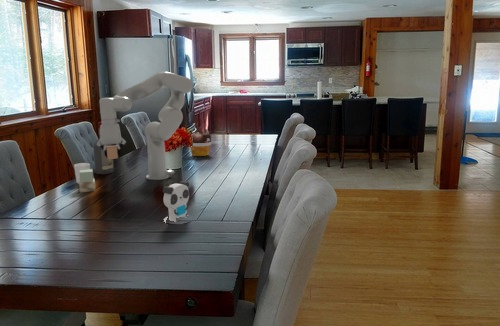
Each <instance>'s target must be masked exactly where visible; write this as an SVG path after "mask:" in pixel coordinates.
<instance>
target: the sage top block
mask: <svg viewBox="0 0 500 326" xmlns="http://www.w3.org/2000/svg"><path fill="white" fill-rule="evenodd" d="M93 178H94V170H93V169H92V168H90V169H88V170H80V182H92V181H93Z"/></svg>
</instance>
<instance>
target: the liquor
mask: <svg viewBox="0 0 500 326" xmlns="http://www.w3.org/2000/svg"><path fill="white" fill-rule="evenodd" d="M100 125H102V122H101V121H99V122H97V127H98V139H97V140H96V141H95V143H94V144H93V158H94V161H93V162H94V171H95V174H96V175H97V174H98V175H109V174H111V173H114V159H108V158H106V156H105V153H104V150H103V149H102V148H101V147H99V146H98V145H96V144H97V142H98V141H99V139H100ZM100 144H101V142H100ZM101 145H103V144H101ZM103 146H104V145H103ZM107 146H113V144H108V145H107ZM106 148H107V147H106Z"/></svg>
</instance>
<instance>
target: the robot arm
mask: <svg viewBox="0 0 500 326" xmlns="http://www.w3.org/2000/svg"><path fill="white" fill-rule="evenodd" d="M164 88H165V89H170V97H169V99H168V100H167V102H166V103H165V104H164V106H163V107H162V108H161V109H160V111H159V112H158V120H159V121H160V122H159V121H152V122H151V121H150V122H149V123H147V124H146V127H145V130H144V131H145V137H146V145H147V165H148V166H147V167H148V174H147V175H146V177H145V178H146V180H149V181H163V180H166V179H168V178H169V177H170V175H174V174H175V170H172V169H169V170H167V167H166V143H165V141H168V140H169V139H170V138H172V136H173V135H174V133H175V132H176V131H177V130H178V128H179V127H180V125H181V124H182V122H183V119H184V116H183V112H182V108H183V107H184V105H185V101H186V100H185V94H189V93H190V92H192V90H194V89H193V88H194V83H193V81H192V79H190V78H189V77H186V76H183V75H179V74H176V73H173V72H169V71H159V72H156V73H154V74H152V75H151V76H150V77H147V78H146V79H145V80H143V81H141V82H139V83H137V84H135V85H132V86H131V87H128V88H126V89H124V90H122V91H120V92H119V93H117V94H115V95H114V96H112V97H102V98H100V99H99V111H100V119H101V121H100V122H102V125H100V139H99V138H98V139H99V141H98V142H97V144H96V145H98V146H99V147H101V148H102V149H103V150H104V153H105V156H106V158H108V157H107V148H106V147H107V145H108V144H111V145H115V146H116V145H117V154H118V158H119V157H120V155H121V148H122V147H123V146H124V145H126V143H127V141H126V140H125V139H124V138H123V137H122V134H121V127H120V124H119V123H120V122H121V120H120V119H118V118H117V112H127V111H128V112H129V111H130V110H131V108H132V106H133V102H136V101H138V100H143V99H146V98H149V97H151V96H152V95H154V94H155V93H158V92H159V91H160V90H162V89H164ZM100 142H101V144H103V145H104V146H103V145H101V144H100Z"/></svg>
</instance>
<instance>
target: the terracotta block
mask: <svg viewBox="0 0 500 326" xmlns="http://www.w3.org/2000/svg"><path fill="white" fill-rule="evenodd" d="M107 157H108V159H113V160H115V159H118V158H119V157H118V154H117V145H116V144H115V145H112V146H107Z"/></svg>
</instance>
